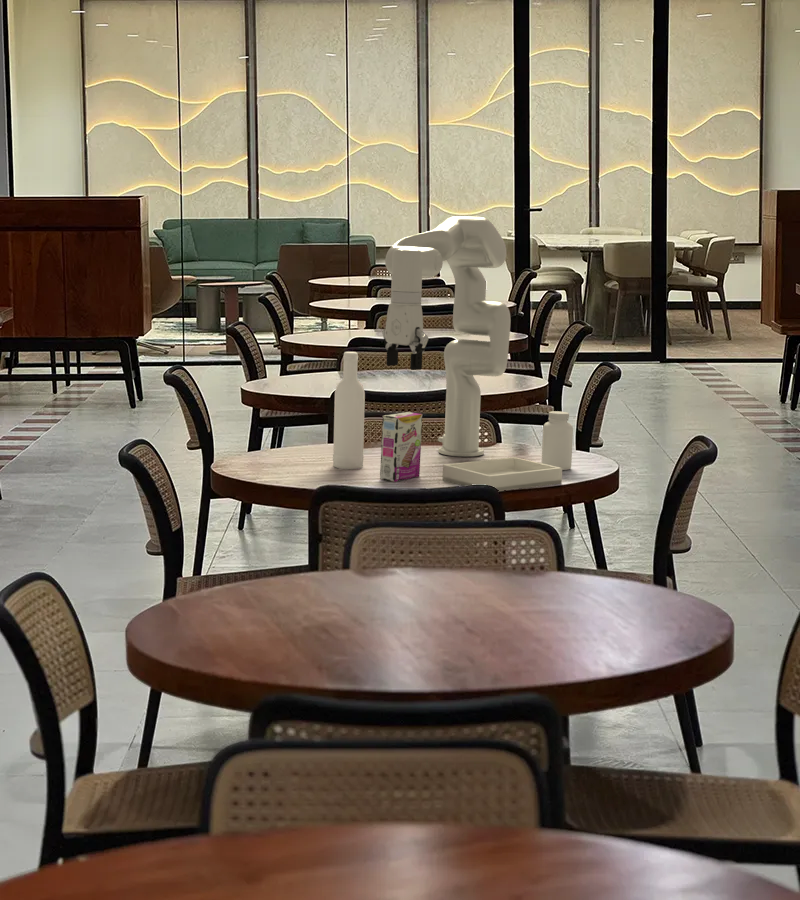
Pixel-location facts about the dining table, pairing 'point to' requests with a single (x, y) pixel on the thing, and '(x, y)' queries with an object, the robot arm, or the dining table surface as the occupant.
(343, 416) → the bottle
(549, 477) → the tray
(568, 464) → the pill bottle
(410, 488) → the dining table surface
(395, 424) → the candy bar box
